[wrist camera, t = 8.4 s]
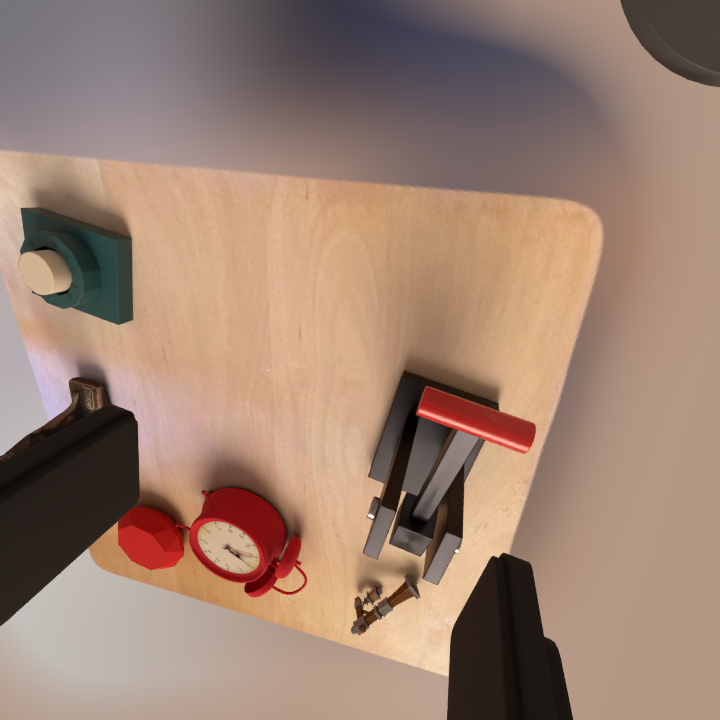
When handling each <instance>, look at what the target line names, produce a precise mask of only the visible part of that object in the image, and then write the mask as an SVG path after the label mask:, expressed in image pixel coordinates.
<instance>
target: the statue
mask: <svg viewBox="0 0 720 720" xmlns="http://www.w3.org/2000/svg"><path fill="white" fill-rule="evenodd" d="M69 388H70V393H71V397H72V403H71V405H70V406H69V407H68V408H67V409H66V410H65V411H64V412H62V413H61V414H59V415H58V416H56V417H55V418H53V419H52V420H51V421H49V422H48V423H47V424H45V425H44V426H42V427H41V428H39V429H37V430H35V431H34V432H32V433H30V434H28V435H27V436H26V437H24V438H23V439H22V440H21V441H19V442H18V443H17V444H16V445H15V446H13V447H12V448H11V449H10V450H9V451H8V452H6V453H5V454H4V455H2V456H0V463H2V462H4V461H5V460H7V459H9V458H11V457H13V456H14V455H16V454H18V453H20V452H22V451H24V450H25V449H27V448H29V447H31V446H33V445H34V444H36V443H38V442H40V441H42V440H43V439H45V438H47V437H49V436H51V435H53V434H54V433H56V432H58V431H60V430H62V429H63V428H65V427H67V426H69V425H71V424H72V423H74V422H76V421H78V420H80V419H82V418H83V417H85V416H87V415H89V414H91V413H92V412H94V411H96V410H98V409H100V408H101V407H103V406H106V405H108V400H107V397H106V393H105V390H104V387H103V385H102V384H99V383H97V382H95V381H92V380H88V379H84V378H80V377H76V378H72V379H71V380H70V381H69Z"/></svg>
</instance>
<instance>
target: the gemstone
mask: <svg viewBox="0 0 720 720" xmlns="http://www.w3.org/2000/svg"><path fill="white" fill-rule="evenodd" d="M175 525H176V524H175V522H174V521H173V520H172V518H171V517H170V516H169V515H167V514H165V513H162V512H160V511H158V510H156V509H154V508H151V507H144V508H132V509H131V510H130V511H128V512H127V513H126V514H125V515H124V516H123V517H122V518H121V519H120V520H119V521H118V545H119V546H120V547H121V548H122V550H123V551H124V552H125V553H126V554H127V556H128V557H129V558H130V559H131V561H133V562H135V563H137V564H139V565H141V566H143V567H145V568H147V569H149V570H153V569H162V568H169V567H173V566H175V565H176V564H177V563H178V561H179V560H180V559H181V558H182V557H183V556H184V544H183V535H182V531H181V530H180V529H179V528H178V527H176V526H175Z"/></svg>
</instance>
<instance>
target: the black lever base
mask: <svg viewBox="0 0 720 720" xmlns="http://www.w3.org/2000/svg"><path fill="white" fill-rule="evenodd" d="M426 386H429V387H432V388H435V389H438V390H440V391H443V392H446V393H449V394H452V395H455V396H458V397H460V398H463V399H466V400H469V401H472V402H475V403H478V404H481V405H483V406H486V407H489V408H492V409H495V410H498V411H499V404H498V403H496V402H493V401H490V400H488V399H485V398H482V397H479V396H476V395H473V394H470V393H467V392H464V391H462V390H459V389H456V388H453V387H450V386H447V385H444V384H441V383H439V382H436V381H433V380H430V379H427V378H424V377H421V376H418V375H415V374H413V373H410V372H407V371H404V372H403V374H402V377H401V380H400V383H399V386H398V389H397V392H396V395H395V398H394V401H393V404H392V407H391V410H390V413H389V416H388V419H387V422H386V425H385V428H384V430H383V433H382V436H381V439H380V442H379V445H378V448H377V451H376V454H375V457H374V460H373V463H372V466H371V469H370V472H369V475H368V477H370V478H372V479H375V480H377V481H380V482H382V483H384V486H383V489H382V493H381V496H380V498H377V497H375V496H374V498H373V500H372V503H371V506H370V509H369V512H368V515H367V518H369V519H372V520H373V522H372V525H371V528H370V531H369V534H368V538H367V541H366V544H365V547H364V551H363V554H364V555H367V556H369V557H372V558H374V559H376V560H377V559H378V557H379V554H380V552H381V549H382V547H383V544H384V542H385V539H386V537H387V534H388V532H389V529H390V527H391V524H392V522H393V519H394V517H395V514H396V512H397V508H398V503H399V499H400V495H401V491H402V490H403V491H405V492H409V493H411V494H414V495H416V496H418V494H419V492H420V490H421V488H422V486H423V484H424V482H425V480H426V478H427V477H428V475H429V473H430V471H431V469H432V467H433V465H434V463H435V461H436V459H437V457H438V455H439V454H440V452H441V450H442V448H443V446H444V444H445V442H446V440H447V438H448V436H449V434H450V432H451V431H452V429H453V428H451V427H448V426H445V425H442V424H440V423H437V422H434V421H431V420H429V419H426V418H423V417H420V416H417V415H416V412H417V409H418V406H419V403H420V400H421V397H422V394H423V392H424V389H425V387H426ZM484 441H485V440H484V439H481V438H480V439H479V441H478V442H477V444H476V445H475V447H474V449H473V450H472V452H471V453H470V455H469V457H468V458H467V460H466V461H465V463H464V465H463V466H462V468H461V470H460V471H459V473H458V474H457V476H456V478H455V479H454V481H453V482H452V484H451V486H450V487H449V489H448V491H447V492H446V494H445V495H444V497H443V499H442V500H441V502H440V503H439V510H438V515H437V520H436V525H435V530H434V536H433V539H432V541H431V542H430V544H429V545H428V547H427V550H426V558H425V565H424V573H423V579H424V580H426V581H429V582H431V583H433V584H436V585H438V584H439V582H440V580H441V578H442V576H443V574H444V572H445V571H446V569H447V567H448V565H449V563H450V561H451V559H452V557H453V555H454V553H455V554H456V553H457V552H458V551H459V549H460V546H461V543H462V538H463V506H464V482H465V480H466V478H467V476H468V474H469V472H470V470H471V468H472V466H473V464H474V462H475V460H476V458H477V456H478V454H479V451H480V449H481V447H482V445H483V443H484Z"/></svg>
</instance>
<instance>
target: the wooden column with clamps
mask: <svg viewBox="0 0 720 720" xmlns="http://www.w3.org/2000/svg"><path fill="white" fill-rule="evenodd" d="M405 579H406V581H405V582H404V583H403V585H402V586H401V587H400V588H399V589H398V590H396V591H395V592H394V593H393V594H392V595H391V596H390V597H388V598H387V597H386V598H385V599H384V600H382V601H381V602H379V603H378V606H376V605H375V606H373V608H374V609H373V610H371V611H370V612H368V611H365V610H363V606H364V604H365V603H366V604H367V605H368V603H369V602H370V603H371V604H372V605H374V604H373V602H375V601H376V600H378V599H381V598H380V595H381V594H382V589H381V588H378V589H376V588H375V587H374V589H373V590H372V591H371V592H369V593H368V592H367V597H366V599H365V597H364V601H363V602H362V600H361V599H360V598H359V597H357V598H355V603H354V604H355V609H356V613H357V620H356V621H354V622H353V625H354V626H353V627H352V628H351V633H352V634H356V633H358V635H360V634H361V633H362V634H363V633H364V632H365V631H366V629H368V628H369V625H370V624H372V623H373V622H375V621H376V620H377V619H379V620H380V619H382V616H384V617H385V615H386V614H388V613H389V612H390V611H392V610H393V607H395V606H396V605H398V604H400V603H401V602H403V601H405V600H407V599H409V598H411V597H414V596H415V597H416V599H418V598H420V595H419V591H418V588H417V585H416V584H415V583H414V581H413V580H412V579H411V578H410V577H409V575H408V574H407V575H406V576H405ZM364 602H365V603H364ZM362 603H363V604H362ZM363 613H364V614H366V615H365V616H364V615H363Z"/></svg>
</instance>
